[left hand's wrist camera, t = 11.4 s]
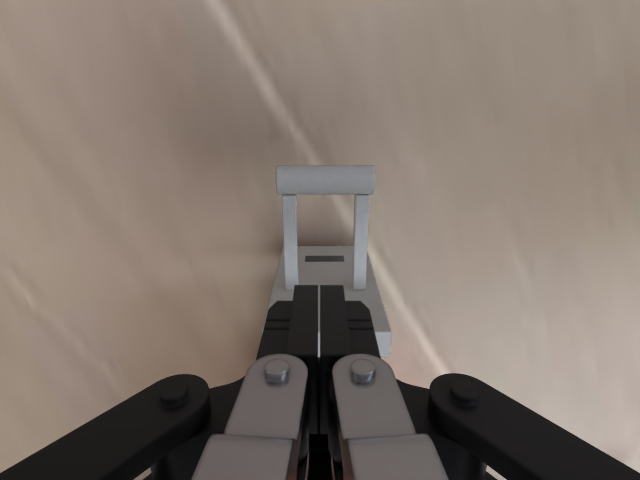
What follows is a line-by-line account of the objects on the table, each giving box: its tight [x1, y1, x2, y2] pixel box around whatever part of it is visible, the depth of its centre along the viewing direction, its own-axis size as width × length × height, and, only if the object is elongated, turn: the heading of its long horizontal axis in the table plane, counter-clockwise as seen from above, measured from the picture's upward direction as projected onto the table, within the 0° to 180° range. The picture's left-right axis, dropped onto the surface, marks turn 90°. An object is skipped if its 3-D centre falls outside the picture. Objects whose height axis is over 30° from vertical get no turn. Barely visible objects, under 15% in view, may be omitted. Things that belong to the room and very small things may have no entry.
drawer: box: [262, 165, 392, 480], centre depth 22 cm, size 22×5×10 cm, turn 0°
